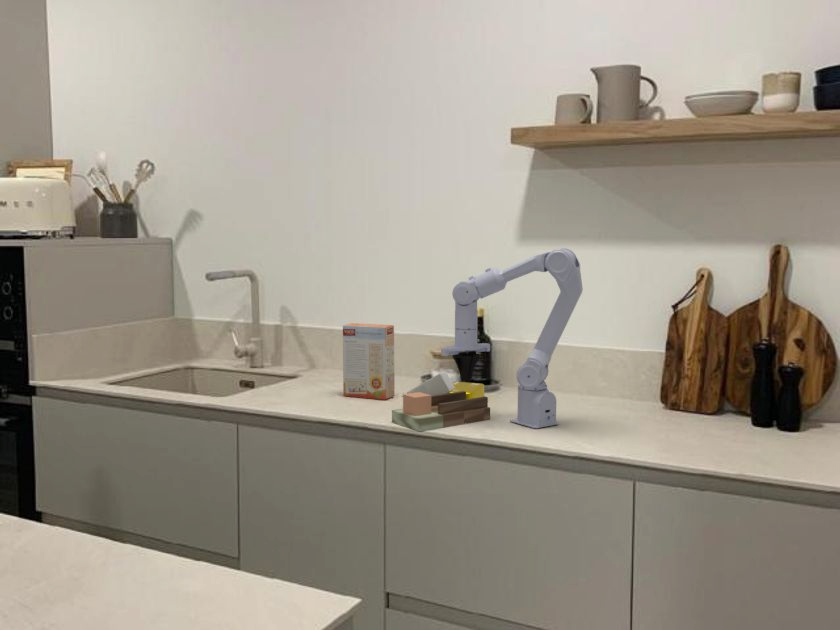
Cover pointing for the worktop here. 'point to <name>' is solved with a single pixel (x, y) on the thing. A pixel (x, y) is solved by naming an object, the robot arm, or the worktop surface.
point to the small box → (435, 385)
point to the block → (417, 403)
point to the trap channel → (446, 412)
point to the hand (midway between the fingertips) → (465, 381)
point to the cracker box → (368, 361)
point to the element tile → (469, 389)
